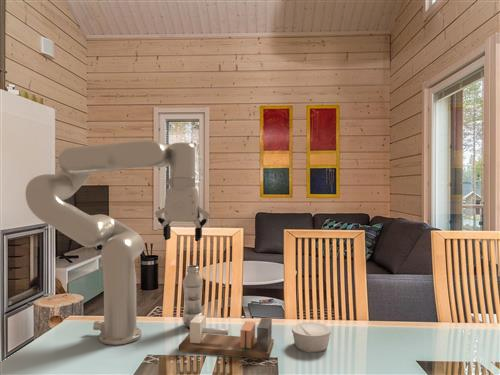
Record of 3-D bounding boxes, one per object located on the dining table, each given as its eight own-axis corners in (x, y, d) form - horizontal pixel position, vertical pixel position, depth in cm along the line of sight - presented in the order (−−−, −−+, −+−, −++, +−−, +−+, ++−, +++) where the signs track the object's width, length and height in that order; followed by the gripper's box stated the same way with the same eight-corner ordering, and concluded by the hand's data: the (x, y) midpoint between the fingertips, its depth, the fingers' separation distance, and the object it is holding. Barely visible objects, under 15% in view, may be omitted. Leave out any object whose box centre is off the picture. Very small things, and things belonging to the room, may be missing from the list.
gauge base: (178, 350, 118) (178, 323, 118) (189, 337, 128) (189, 311, 128) (268, 358, 114) (269, 330, 113) (273, 344, 123) (273, 317, 123)
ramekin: (284, 346, 122) (284, 328, 122) (306, 335, 130) (306, 319, 130) (316, 358, 115) (316, 339, 114) (337, 346, 123) (337, 328, 123)
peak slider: (239, 349, 115) (239, 331, 115) (245, 337, 123) (245, 321, 123) (250, 350, 115) (250, 332, 114) (255, 338, 123) (255, 322, 123)
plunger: (189, 342, 120) (189, 322, 120) (196, 334, 126) (196, 315, 125) (225, 345, 118) (225, 324, 118) (230, 337, 124) (230, 317, 124)
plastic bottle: (199, 330, 134) (199, 269, 133) (179, 329, 135) (179, 268, 134) (205, 323, 140) (205, 264, 139) (186, 322, 141) (186, 263, 141)
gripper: (150, 183, 124) (150, 241, 124) (206, 184, 121) (206, 243, 121) (160, 183, 131) (160, 237, 132) (213, 183, 128) (213, 239, 129)
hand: (182, 239), depth 127 cm, fingers open, 9 cm apart
